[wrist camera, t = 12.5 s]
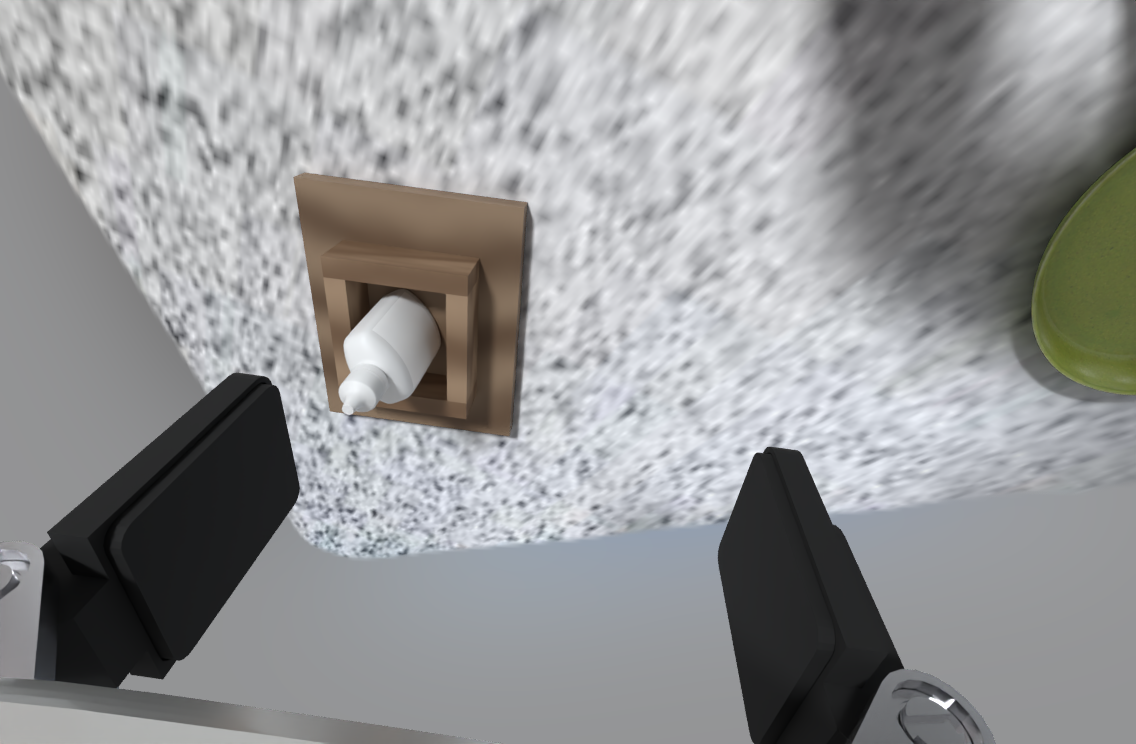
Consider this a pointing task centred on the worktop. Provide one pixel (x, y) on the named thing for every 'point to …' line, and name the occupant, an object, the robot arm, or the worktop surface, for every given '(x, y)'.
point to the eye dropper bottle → (388, 352)
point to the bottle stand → (420, 289)
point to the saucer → (1092, 286)
